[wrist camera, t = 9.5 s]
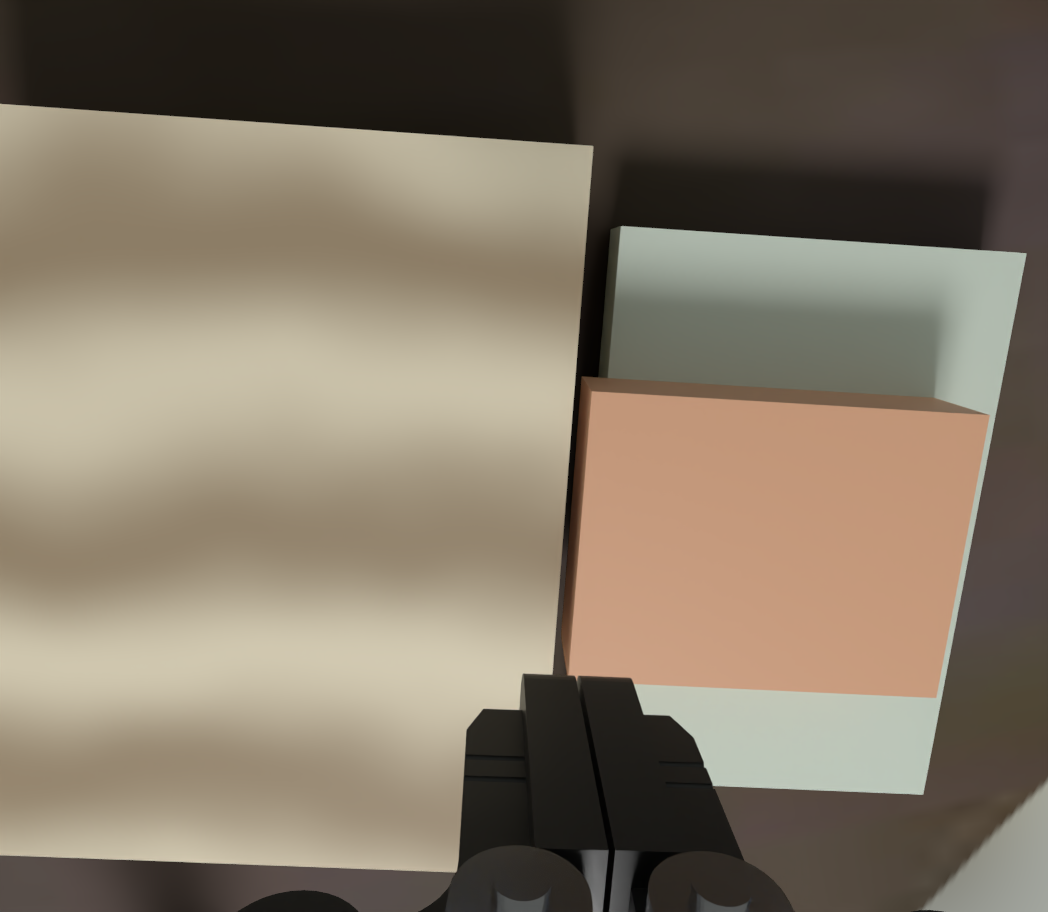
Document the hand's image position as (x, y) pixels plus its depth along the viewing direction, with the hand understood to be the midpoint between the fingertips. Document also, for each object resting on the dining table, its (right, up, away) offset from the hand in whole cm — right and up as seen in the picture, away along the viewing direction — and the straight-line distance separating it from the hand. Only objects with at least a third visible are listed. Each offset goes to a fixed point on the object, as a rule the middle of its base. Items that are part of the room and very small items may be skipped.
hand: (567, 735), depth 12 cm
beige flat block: (-7, +3, +12) cm, 14 cm away
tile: (+5, +2, +10) cm, 12 cm away
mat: (+6, +2, +12) cm, 14 cm away
